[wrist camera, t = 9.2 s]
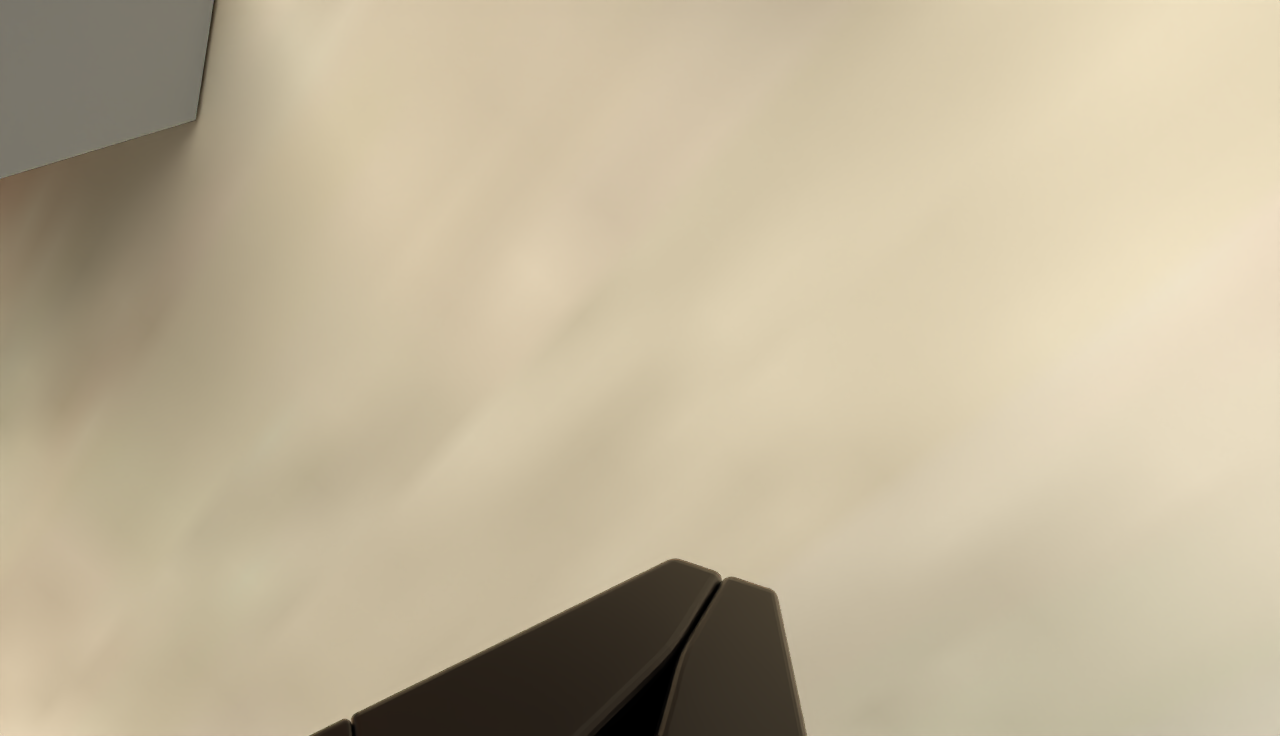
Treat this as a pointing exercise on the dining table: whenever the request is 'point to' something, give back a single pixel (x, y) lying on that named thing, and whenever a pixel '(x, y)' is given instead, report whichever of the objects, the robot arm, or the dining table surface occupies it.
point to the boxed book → (95, 74)
